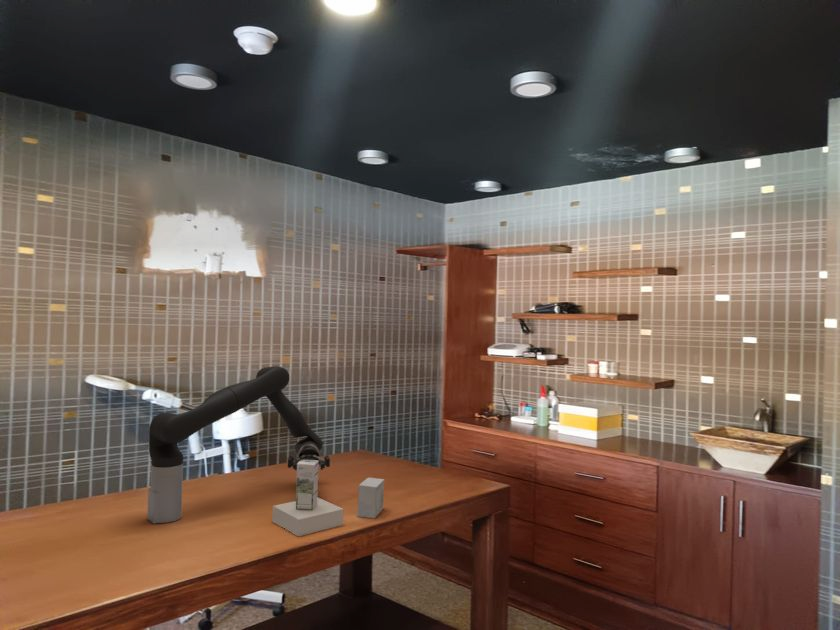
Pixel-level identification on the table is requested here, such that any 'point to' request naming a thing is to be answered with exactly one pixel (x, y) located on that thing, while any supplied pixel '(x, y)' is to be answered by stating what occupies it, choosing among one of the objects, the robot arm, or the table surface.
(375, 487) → the skincare box
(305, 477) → the syrup box
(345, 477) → the table surface
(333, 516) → the plinth
